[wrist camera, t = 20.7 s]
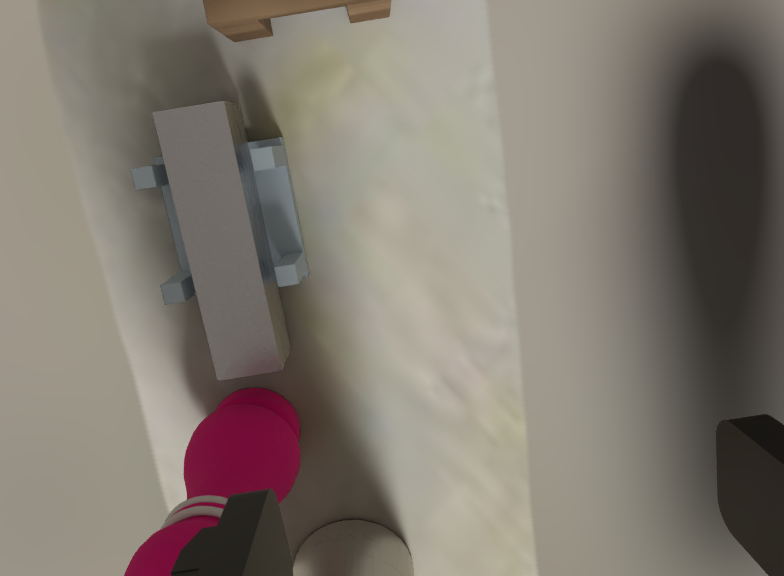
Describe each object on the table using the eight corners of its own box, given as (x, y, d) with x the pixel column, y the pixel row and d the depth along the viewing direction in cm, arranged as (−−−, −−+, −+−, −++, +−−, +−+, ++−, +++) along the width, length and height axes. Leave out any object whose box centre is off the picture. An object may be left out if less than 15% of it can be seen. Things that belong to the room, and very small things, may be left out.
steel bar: (290, 348, 41) (281, 371, 37) (232, 357, 41) (217, 381, 37) (239, 104, 37) (223, 100, 33) (175, 114, 37) (152, 112, 33)
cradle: (309, 273, 40) (300, 292, 36) (192, 292, 41) (167, 312, 36) (282, 137, 38) (269, 137, 33) (159, 157, 38) (127, 160, 34)
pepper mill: (268, 490, 44) (184, 764, 25) (185, 435, 43) (30, 678, 24) (327, 419, 43) (288, 649, 24) (244, 360, 42) (131, 553, 22)
